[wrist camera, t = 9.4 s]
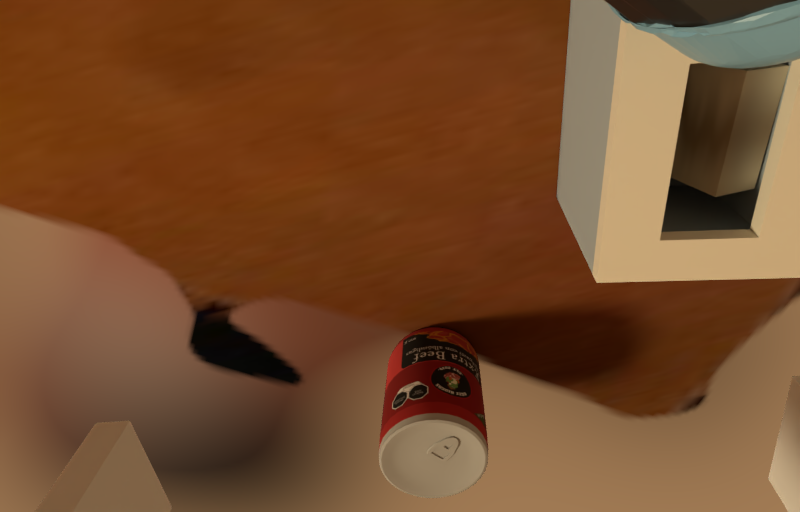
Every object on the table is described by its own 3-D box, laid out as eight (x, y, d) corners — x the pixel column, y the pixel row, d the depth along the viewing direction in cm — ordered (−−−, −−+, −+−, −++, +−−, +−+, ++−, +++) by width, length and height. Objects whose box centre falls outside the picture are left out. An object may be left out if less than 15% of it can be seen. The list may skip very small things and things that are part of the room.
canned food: (493, 340, 49) (507, 438, 40) (456, 406, 53) (461, 511, 43) (407, 312, 48) (401, 405, 39) (376, 381, 52) (363, 482, 42)
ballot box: (571, -14, 36) (628, 8, 25) (758, -25, 35) (896, -8, 25) (556, 197, 43) (596, 282, 32) (712, 191, 42) (806, 277, 31)
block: (649, 50, 36) (747, 71, 30) (687, 46, 37) (789, 65, 31) (631, 160, 39) (715, 197, 33) (666, 153, 40) (754, 188, 34)
